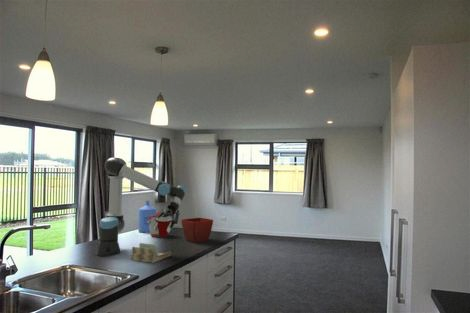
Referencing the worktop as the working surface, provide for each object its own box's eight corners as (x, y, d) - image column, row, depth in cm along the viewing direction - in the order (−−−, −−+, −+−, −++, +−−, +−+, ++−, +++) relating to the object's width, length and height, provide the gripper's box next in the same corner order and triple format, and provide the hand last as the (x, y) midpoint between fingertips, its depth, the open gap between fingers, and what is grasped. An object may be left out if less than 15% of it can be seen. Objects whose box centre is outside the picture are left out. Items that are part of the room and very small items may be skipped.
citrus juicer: (145, 235, 299) (145, 211, 300) (165, 233, 306) (165, 211, 307) (148, 238, 285) (149, 213, 286) (169, 236, 292) (169, 212, 293)
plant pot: (180, 240, 277) (180, 219, 277) (199, 237, 289) (199, 217, 290) (193, 244, 262) (194, 222, 263) (213, 241, 275) (213, 219, 276)
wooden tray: (130, 259, 216) (131, 247, 216) (149, 253, 233) (149, 241, 234) (153, 262, 209) (153, 249, 209) (170, 255, 227) (171, 243, 227)
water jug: (134, 232, 313) (135, 201, 314) (146, 229, 327) (147, 199, 328) (147, 233, 306) (148, 201, 307) (159, 230, 320) (159, 200, 321)
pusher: (139, 255, 221) (139, 243, 221) (140, 255, 222) (140, 243, 222) (157, 258, 215) (157, 245, 216) (157, 257, 216) (158, 244, 217)
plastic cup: (156, 238, 224) (156, 219, 225) (154, 234, 235) (155, 217, 235) (172, 237, 228) (173, 219, 228) (170, 234, 238) (171, 216, 238)
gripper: (189, 208, 242) (177, 235, 227) (162, 207, 250) (149, 232, 235) (186, 201, 237) (173, 228, 222) (158, 200, 245) (144, 226, 230)
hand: (161, 230), depth 228 cm, fingers closed on plastic cup, 9 cm apart
